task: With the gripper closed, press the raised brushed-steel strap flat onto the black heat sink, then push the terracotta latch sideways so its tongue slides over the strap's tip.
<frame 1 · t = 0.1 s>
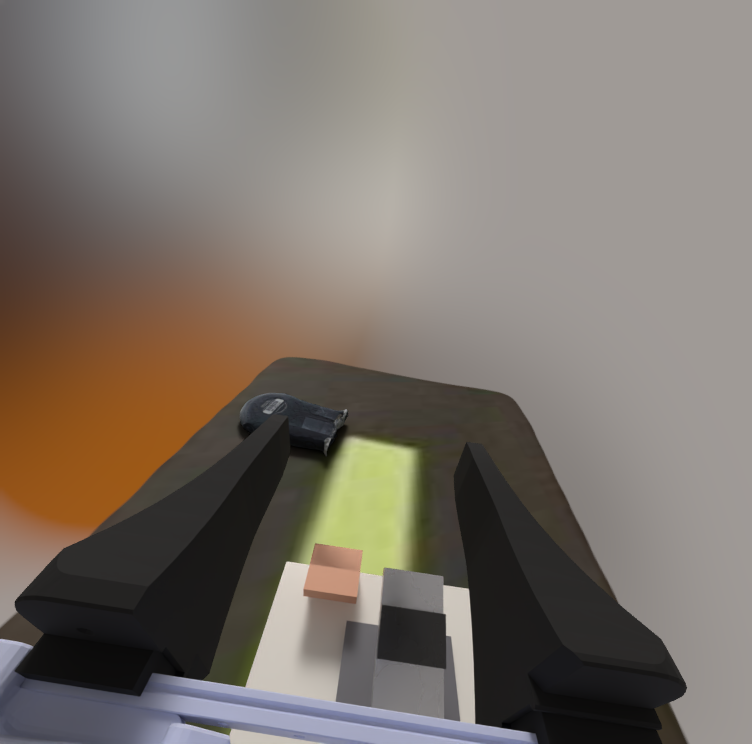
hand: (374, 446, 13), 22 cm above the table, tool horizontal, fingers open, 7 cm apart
latch: (333, 578, 25), point 3 cm above the table, slide at 0.0 cm
electronic device: (291, 427, 46), on the table
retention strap: (406, 719, 17), point 6 cm above the table, hinge at 25.0°
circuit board: (392, 736, 20), on the table
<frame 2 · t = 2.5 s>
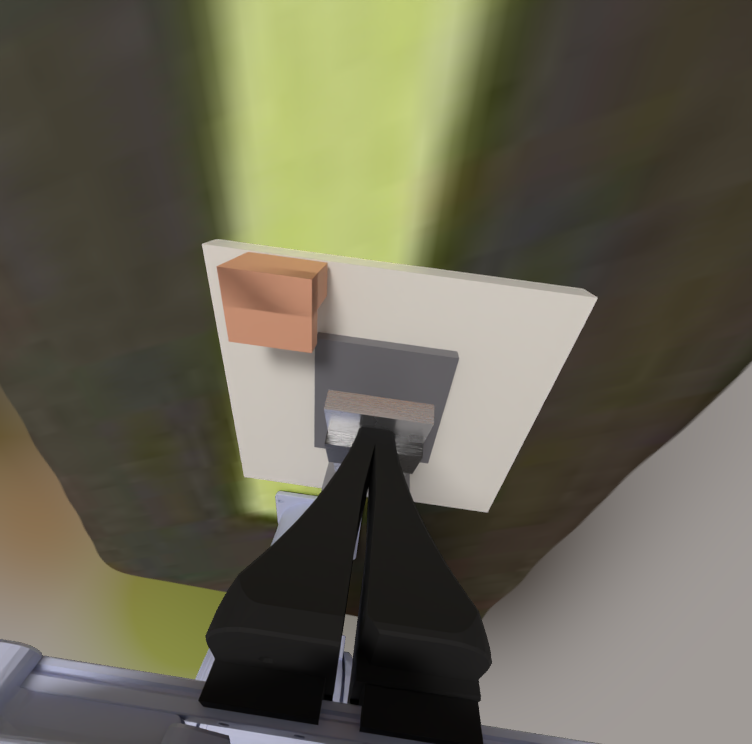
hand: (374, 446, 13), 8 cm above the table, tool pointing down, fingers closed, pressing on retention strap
latch: (279, 301, 15), point 3 cm above the table, slide at 0.0 cm
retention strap: (370, 464, 17), point 6 cm above the table, hinge at 24.7°, touching gripper
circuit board: (379, 395, 22), on the table
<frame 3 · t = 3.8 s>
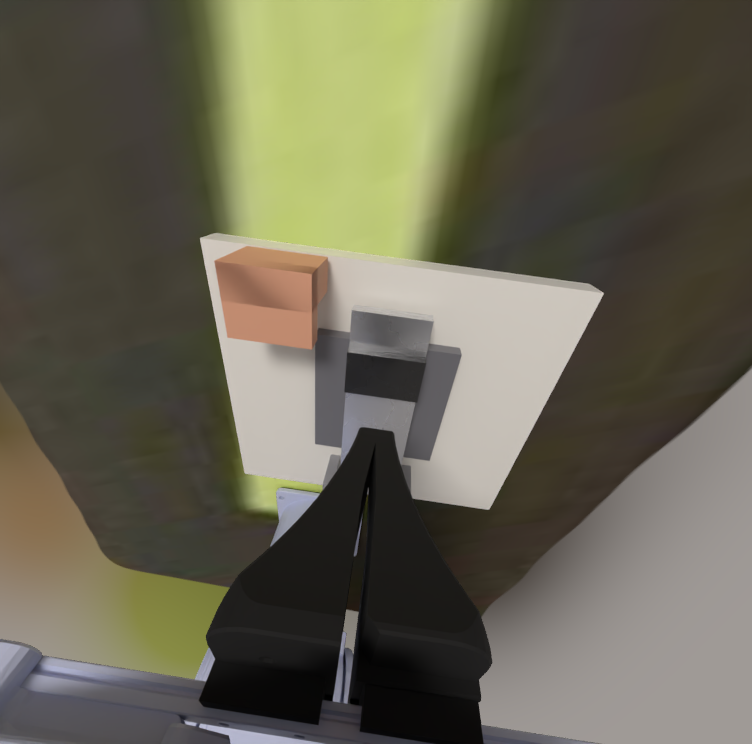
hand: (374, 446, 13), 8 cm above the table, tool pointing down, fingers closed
latch: (278, 296, 15), point 3 cm above the table, slide at 0.0 cm
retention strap: (377, 420, 19), point 3 cm above the table, hinge at -1.3°
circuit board: (380, 392, 21), on the table
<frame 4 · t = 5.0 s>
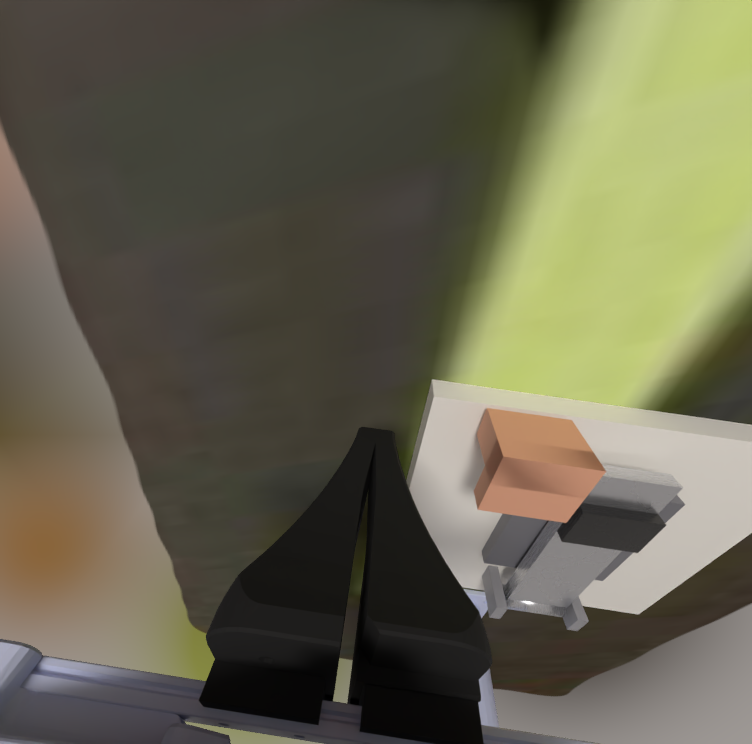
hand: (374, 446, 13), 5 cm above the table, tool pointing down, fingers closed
latch: (525, 464, 14), point 3 cm above the table, slide at 0.0 cm
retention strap: (572, 555, 18), point 3 cm above the table, hinge at -1.3°
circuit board: (551, 510, 21), on the table
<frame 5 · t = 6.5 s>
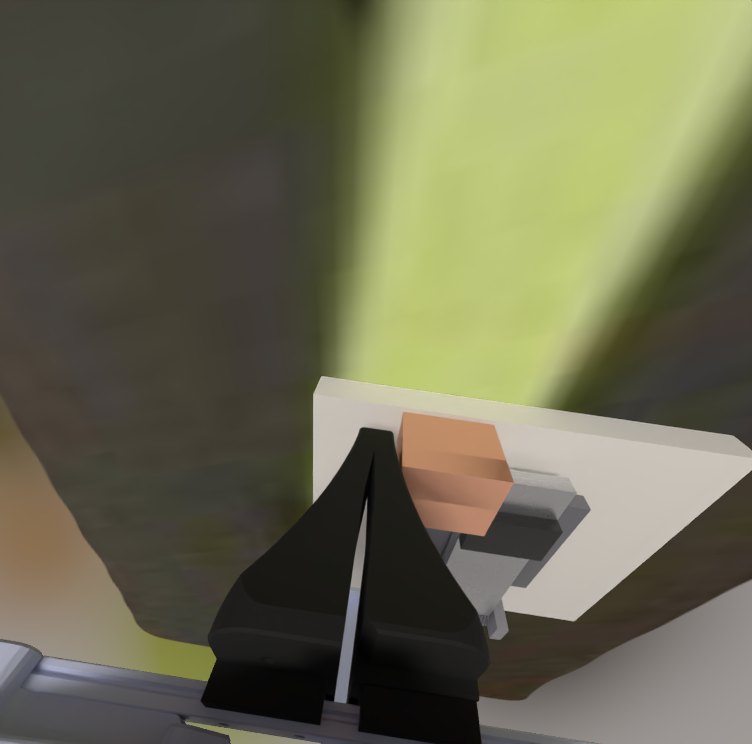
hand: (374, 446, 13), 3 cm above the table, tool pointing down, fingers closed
latch: (442, 472, 13), point 3 cm above the table, slide at 1.6 cm, touching gripper
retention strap: (483, 562, 17), point 3 cm above the table, hinge at -1.3°
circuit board: (472, 513, 20), on the table
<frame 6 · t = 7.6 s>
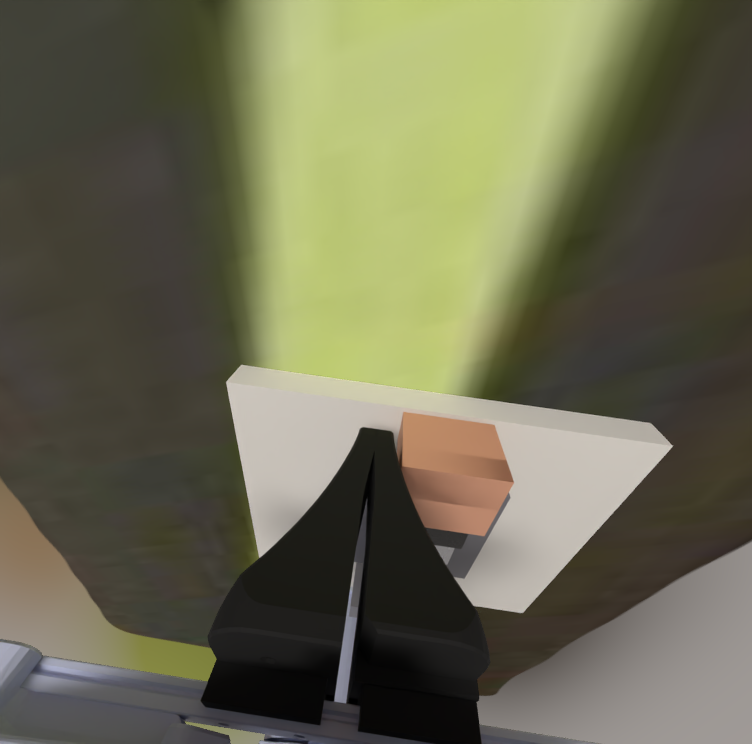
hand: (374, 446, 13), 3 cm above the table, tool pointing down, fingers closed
latch: (442, 472, 13), point 3 cm above the table, slide at 5.5 cm, touching gripper
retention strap: (412, 551, 17), point 3 cm above the table, hinge at -1.3°
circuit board: (411, 504, 20), on the table
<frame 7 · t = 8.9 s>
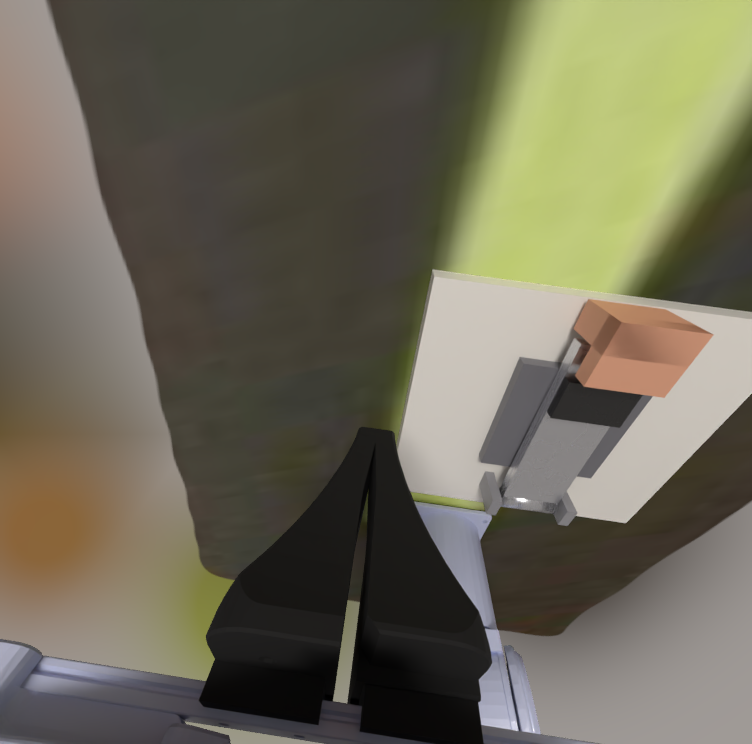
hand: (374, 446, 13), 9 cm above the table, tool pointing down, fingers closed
latch: (625, 347, 16), point 3 cm above the table, slide at 5.5 cm
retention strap: (561, 442, 20), point 3 cm above the table, hinge at -1.3°
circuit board: (543, 413, 22), on the table
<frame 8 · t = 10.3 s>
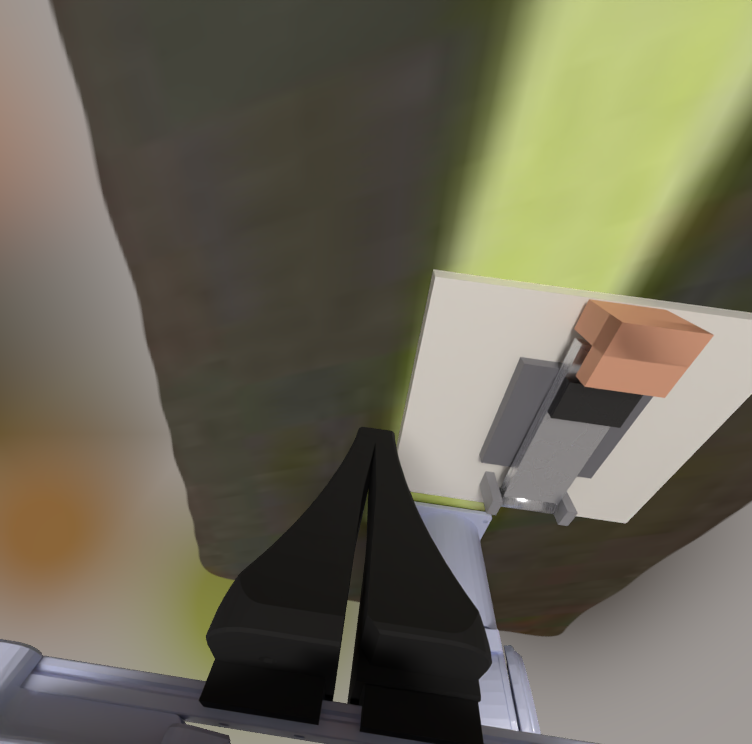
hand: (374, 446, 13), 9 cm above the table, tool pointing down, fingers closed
latch: (626, 347, 16), point 3 cm above the table, slide at 5.5 cm
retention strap: (562, 442, 20), point 3 cm above the table, hinge at -1.3°
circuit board: (543, 413, 22), on the table
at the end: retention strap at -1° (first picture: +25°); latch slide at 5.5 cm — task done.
